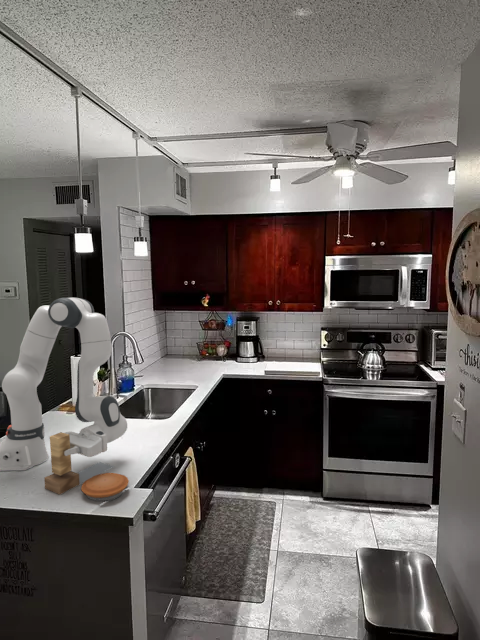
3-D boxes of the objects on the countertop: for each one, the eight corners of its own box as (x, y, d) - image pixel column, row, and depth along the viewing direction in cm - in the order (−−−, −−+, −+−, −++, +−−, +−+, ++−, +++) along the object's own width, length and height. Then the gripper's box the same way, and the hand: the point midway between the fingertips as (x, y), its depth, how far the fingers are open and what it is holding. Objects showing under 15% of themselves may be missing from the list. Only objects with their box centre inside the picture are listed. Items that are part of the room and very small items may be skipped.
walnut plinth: (60, 494, 151) (59, 483, 150) (44, 488, 155) (44, 477, 154) (79, 484, 157) (78, 473, 157) (64, 479, 161) (63, 468, 161)
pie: (72, 503, 147) (71, 489, 146) (95, 481, 162) (94, 468, 161) (117, 507, 144) (116, 493, 144) (135, 484, 159) (135, 471, 159)
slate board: (61, 496, 151) (61, 493, 151) (46, 490, 155) (46, 487, 155) (114, 468, 172) (114, 466, 171) (100, 463, 176) (100, 461, 176)
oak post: (60, 475, 152) (58, 438, 151) (52, 472, 155) (49, 436, 153) (71, 470, 156) (69, 434, 155) (63, 467, 158) (60, 432, 157)
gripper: (71, 424, 170) (38, 437, 159) (109, 435, 160) (77, 449, 148) (72, 440, 171) (39, 454, 159) (110, 452, 161) (78, 467, 149)
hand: (58, 451), depth 154 cm, fingers closed on oak post, 4 cm apart
